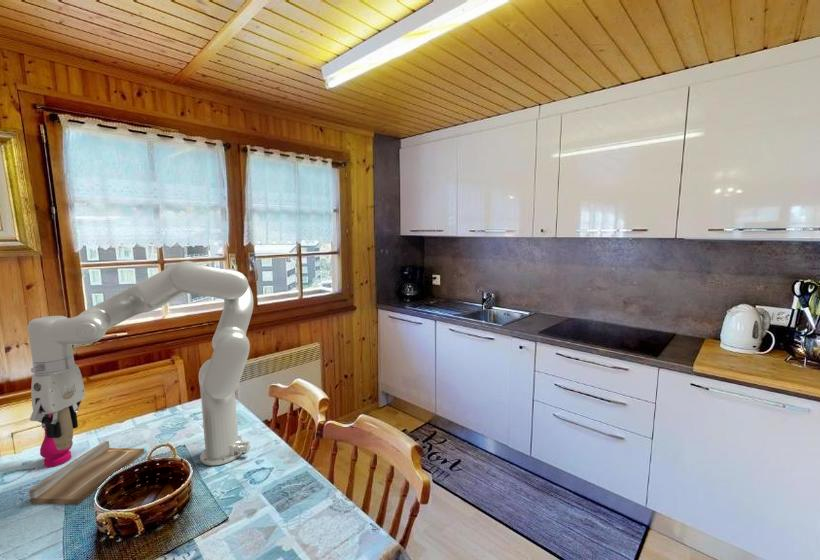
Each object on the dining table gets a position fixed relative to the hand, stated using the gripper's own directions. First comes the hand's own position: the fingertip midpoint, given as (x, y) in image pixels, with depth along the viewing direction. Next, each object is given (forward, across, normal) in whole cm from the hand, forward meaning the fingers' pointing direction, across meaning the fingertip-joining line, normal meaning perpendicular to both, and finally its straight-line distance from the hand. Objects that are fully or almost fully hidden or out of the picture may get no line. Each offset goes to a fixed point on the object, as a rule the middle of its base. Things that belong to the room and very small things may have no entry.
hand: (62, 431), depth 96 cm
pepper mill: (+20, +17, +20) cm, 33 cm away
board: (+19, +10, +3) cm, 22 cm away
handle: (+4, 0, 0) cm, 4 cm away
